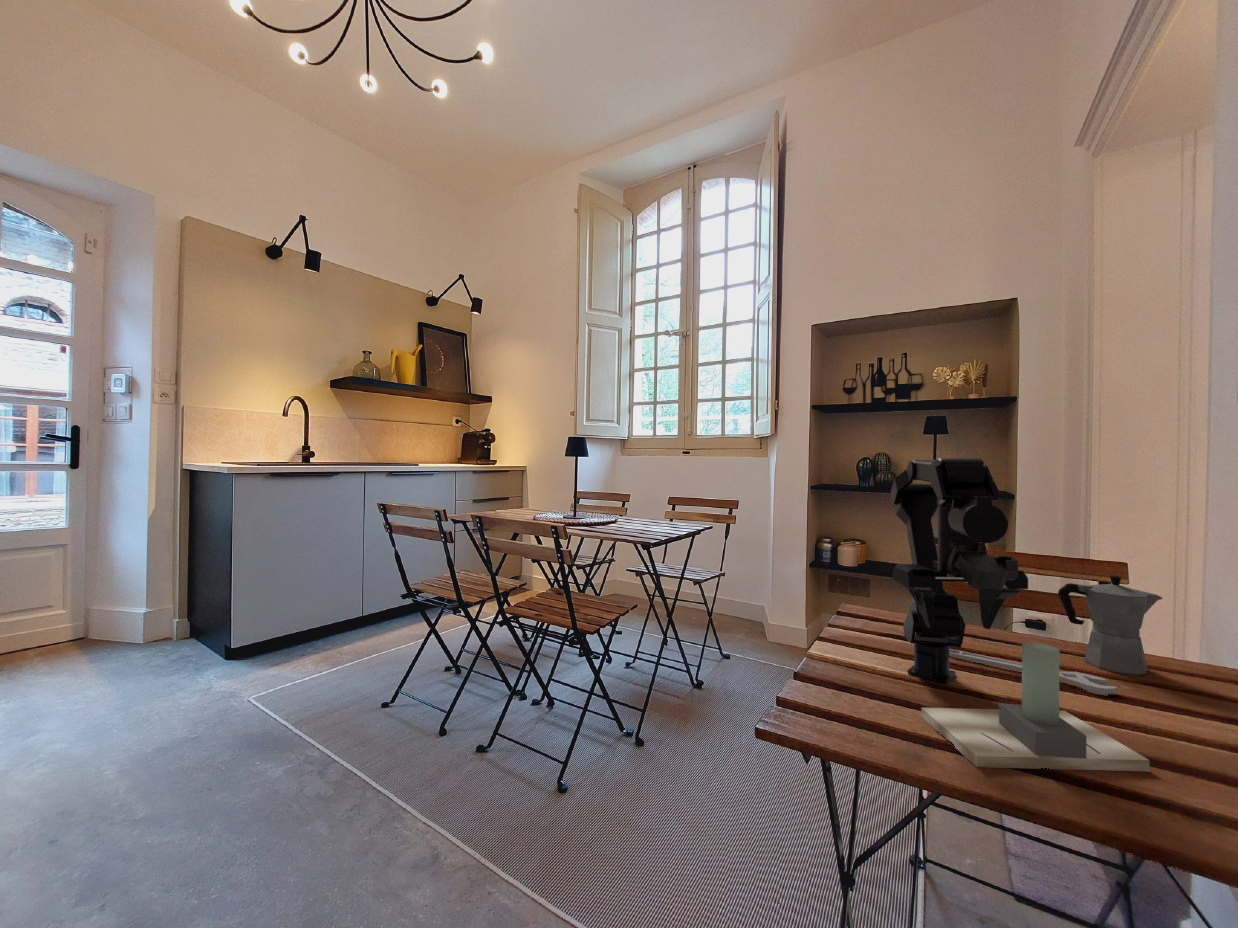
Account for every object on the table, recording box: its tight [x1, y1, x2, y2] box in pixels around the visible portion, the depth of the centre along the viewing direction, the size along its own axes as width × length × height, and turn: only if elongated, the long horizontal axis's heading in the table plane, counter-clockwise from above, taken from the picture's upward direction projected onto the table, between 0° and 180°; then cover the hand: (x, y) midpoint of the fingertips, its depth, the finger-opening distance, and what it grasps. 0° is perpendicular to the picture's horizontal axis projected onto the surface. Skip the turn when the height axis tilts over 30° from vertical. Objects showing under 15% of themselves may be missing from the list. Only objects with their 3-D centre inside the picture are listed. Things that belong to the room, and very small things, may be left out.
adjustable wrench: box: [949, 648, 1118, 697], centre depth 97 cm, size 25×6×2 cm, turn 43°
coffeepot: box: [1057, 575, 1163, 676], centre depth 100 cm, size 15×9×18 cm, turn 62°
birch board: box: [920, 707, 1150, 773], centre depth 72 cm, size 13×22×2 cm, turn 88°
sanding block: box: [998, 641, 1086, 759], centre depth 70 cm, size 6×8×13 cm
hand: (957, 628), depth 83 cm, fingers open, 9 cm apart
